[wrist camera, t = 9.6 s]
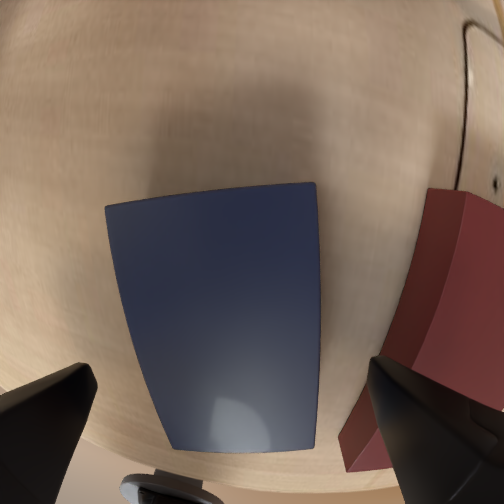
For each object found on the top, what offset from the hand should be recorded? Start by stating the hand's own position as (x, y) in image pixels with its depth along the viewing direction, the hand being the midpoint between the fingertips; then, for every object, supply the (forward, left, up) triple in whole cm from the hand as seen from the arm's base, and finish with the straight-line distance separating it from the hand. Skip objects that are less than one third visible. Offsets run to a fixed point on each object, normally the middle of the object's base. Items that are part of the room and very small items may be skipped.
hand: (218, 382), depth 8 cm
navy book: (0, 0, -5) cm, 5 cm away
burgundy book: (+1, -13, -5) cm, 14 cm away
